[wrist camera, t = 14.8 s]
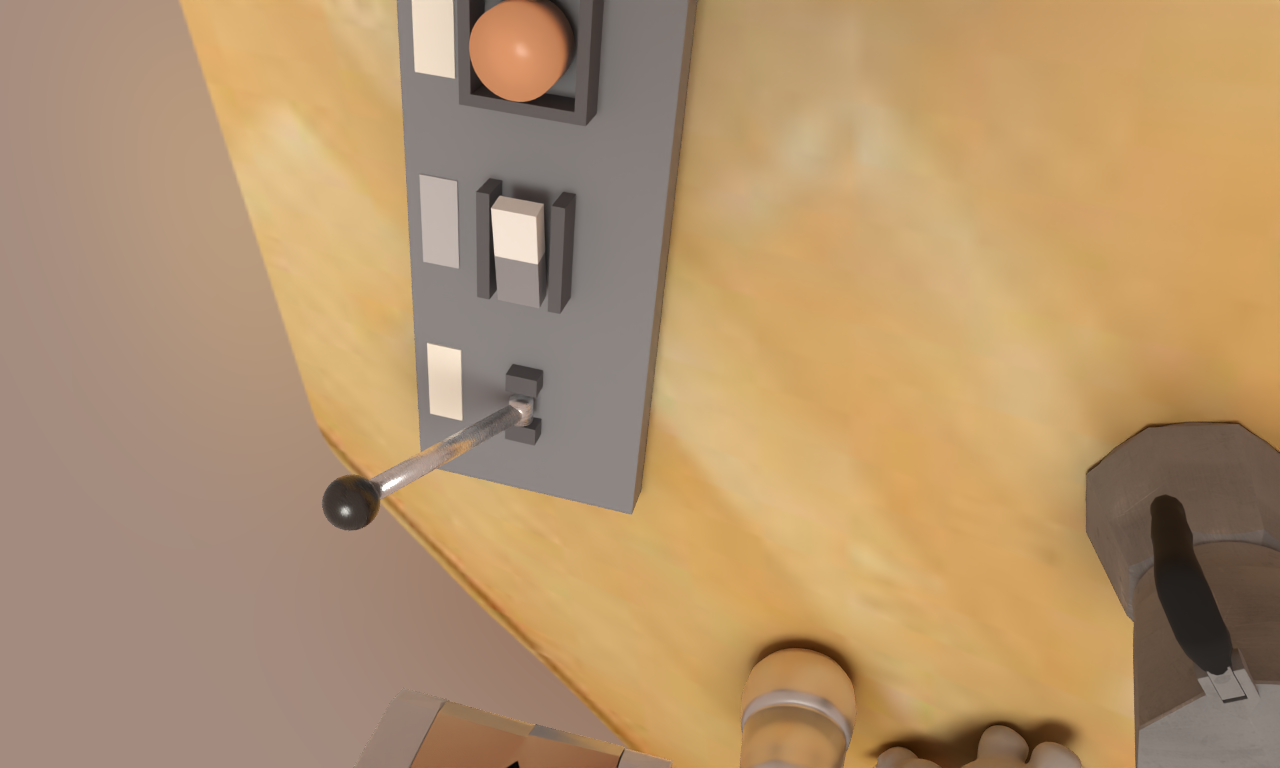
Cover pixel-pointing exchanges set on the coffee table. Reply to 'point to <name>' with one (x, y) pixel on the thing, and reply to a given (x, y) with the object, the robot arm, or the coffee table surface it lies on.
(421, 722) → the robot arm
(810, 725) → the plastic bottle
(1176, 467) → the coffeepot
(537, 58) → the push button
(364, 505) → the toggle lever
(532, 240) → the rocker switch
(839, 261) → the coffee table surface
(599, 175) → the control panel
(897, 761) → the round bodied animal figurine
